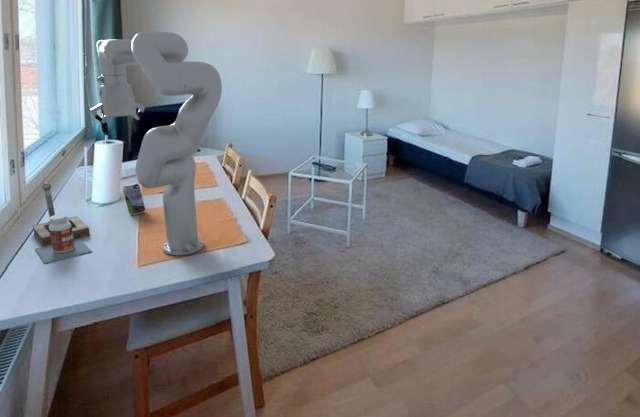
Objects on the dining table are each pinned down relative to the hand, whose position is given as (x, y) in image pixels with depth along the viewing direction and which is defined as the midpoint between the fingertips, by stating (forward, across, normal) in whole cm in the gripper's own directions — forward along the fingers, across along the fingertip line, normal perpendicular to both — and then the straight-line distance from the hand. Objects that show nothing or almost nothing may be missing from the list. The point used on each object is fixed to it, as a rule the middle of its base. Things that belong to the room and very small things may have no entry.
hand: (121, 133), depth 153 cm
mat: (+33, -25, -8) cm, 42 cm away
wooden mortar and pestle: (+33, -22, +9) cm, 41 cm away
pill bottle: (+33, -25, -9) cm, 42 cm away
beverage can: (+34, +5, +11) cm, 36 cm away
